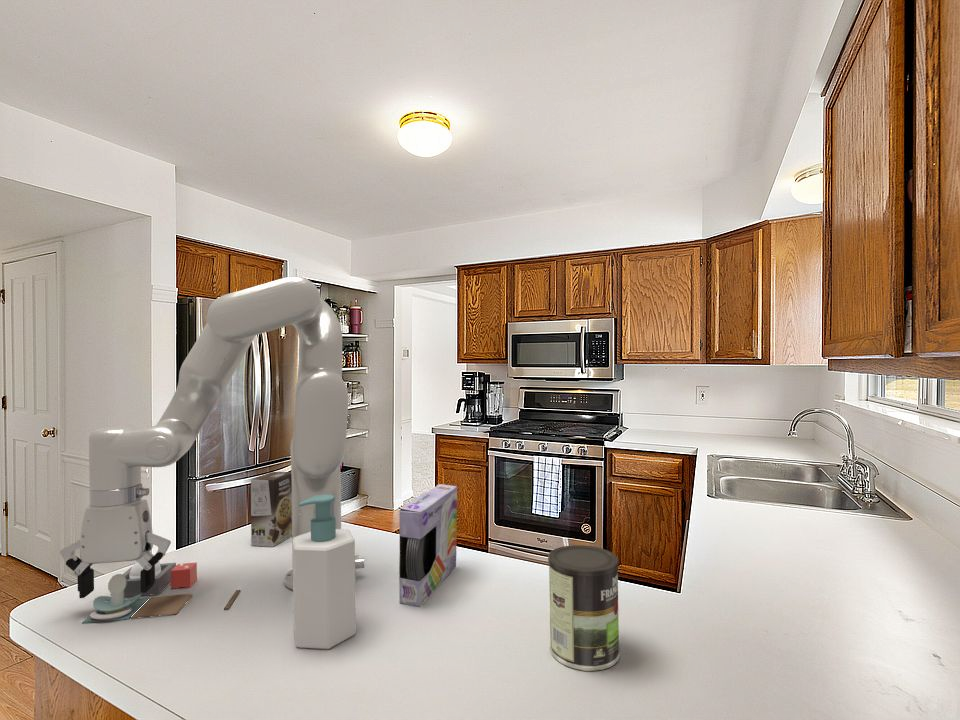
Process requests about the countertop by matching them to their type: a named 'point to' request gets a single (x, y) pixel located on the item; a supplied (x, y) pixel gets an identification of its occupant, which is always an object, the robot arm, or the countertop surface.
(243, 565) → the countertop surface
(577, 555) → the coffee can
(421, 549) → the cake pan box
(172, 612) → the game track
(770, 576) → the countertop surface
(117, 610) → the pacifier
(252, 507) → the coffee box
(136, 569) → the popper dome
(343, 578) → the soap bottle
